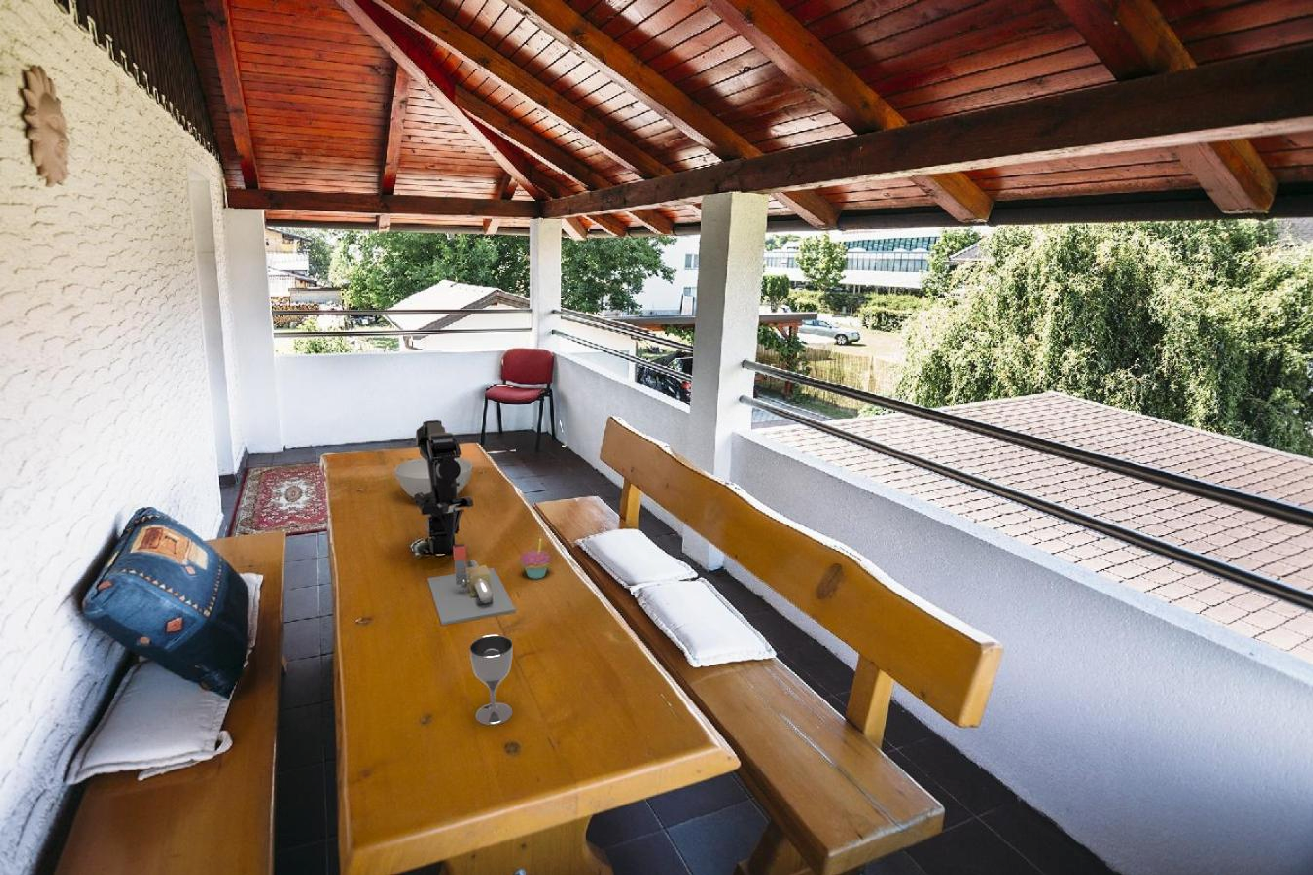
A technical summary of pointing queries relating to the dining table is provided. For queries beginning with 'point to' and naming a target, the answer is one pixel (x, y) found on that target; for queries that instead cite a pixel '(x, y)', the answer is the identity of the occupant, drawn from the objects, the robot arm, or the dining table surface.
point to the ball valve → (479, 582)
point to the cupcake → (535, 562)
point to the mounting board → (466, 600)
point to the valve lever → (460, 564)
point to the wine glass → (492, 674)
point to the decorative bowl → (426, 475)
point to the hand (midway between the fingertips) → (450, 537)
